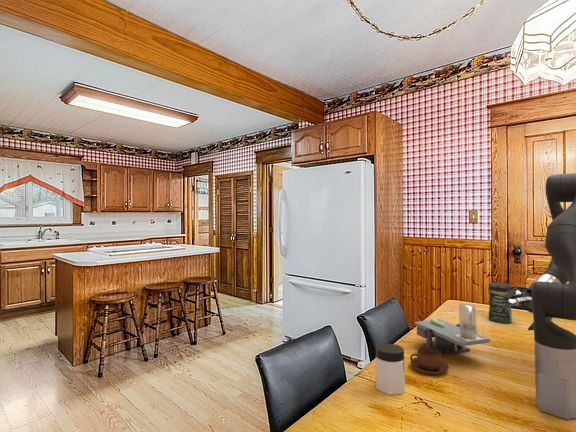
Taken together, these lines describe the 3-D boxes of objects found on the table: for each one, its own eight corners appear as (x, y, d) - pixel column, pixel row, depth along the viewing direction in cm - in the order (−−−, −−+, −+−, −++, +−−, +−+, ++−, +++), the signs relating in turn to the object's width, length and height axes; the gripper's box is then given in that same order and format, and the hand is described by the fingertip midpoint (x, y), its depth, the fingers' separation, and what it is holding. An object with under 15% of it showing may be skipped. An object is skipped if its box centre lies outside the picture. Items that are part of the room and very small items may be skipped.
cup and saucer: (425, 380, 107) (425, 360, 108) (403, 364, 119) (402, 347, 119) (457, 374, 111) (456, 355, 111) (432, 360, 122) (432, 343, 122)
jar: (399, 380, 107) (398, 342, 107) (411, 393, 99) (410, 352, 99) (371, 382, 106) (370, 343, 106) (381, 396, 98) (380, 354, 98)
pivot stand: (420, 349, 132) (419, 325, 133) (454, 344, 137) (453, 321, 137) (434, 356, 125) (434, 332, 125) (470, 351, 129) (469, 327, 129)
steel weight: (473, 340, 116) (472, 308, 116) (457, 337, 120) (456, 305, 120) (478, 336, 120) (477, 305, 120) (463, 333, 124) (461, 302, 124)
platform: (414, 334, 139) (414, 317, 139) (439, 331, 142) (439, 315, 142) (462, 358, 115) (461, 337, 115) (490, 353, 118) (489, 334, 118)
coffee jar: (486, 320, 167) (485, 282, 167) (492, 317, 172) (491, 280, 173) (509, 325, 160) (508, 285, 160) (514, 321, 165) (513, 283, 166)
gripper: (525, 272, 121) (497, 301, 117) (570, 298, 112) (542, 330, 108) (520, 282, 127) (493, 310, 122) (562, 308, 118) (534, 339, 113)
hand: (516, 320), depth 115 cm, fingers open, 8 cm apart
